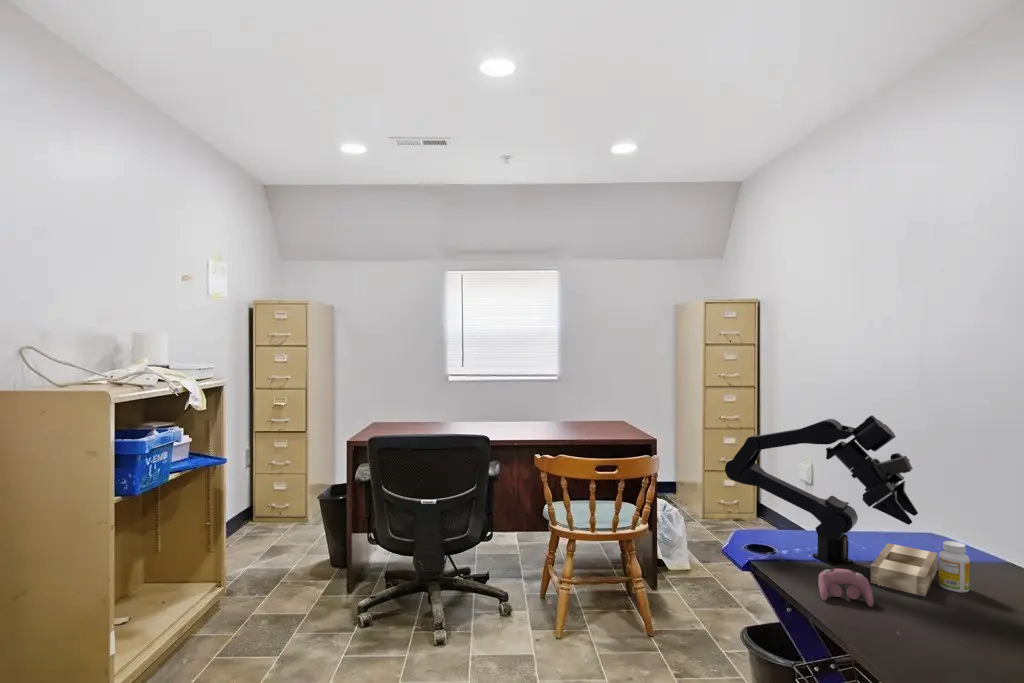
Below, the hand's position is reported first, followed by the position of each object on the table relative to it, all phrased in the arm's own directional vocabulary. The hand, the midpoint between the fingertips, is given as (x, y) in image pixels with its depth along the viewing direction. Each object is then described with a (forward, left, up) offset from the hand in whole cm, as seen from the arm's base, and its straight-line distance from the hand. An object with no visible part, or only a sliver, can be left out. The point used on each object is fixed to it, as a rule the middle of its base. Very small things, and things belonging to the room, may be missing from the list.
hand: (913, 519), depth 133 cm
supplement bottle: (+3, -7, -14) cm, 16 cm away
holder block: (-1, +1, -13) cm, 14 cm away
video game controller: (-25, -4, -14) cm, 29 cm away
